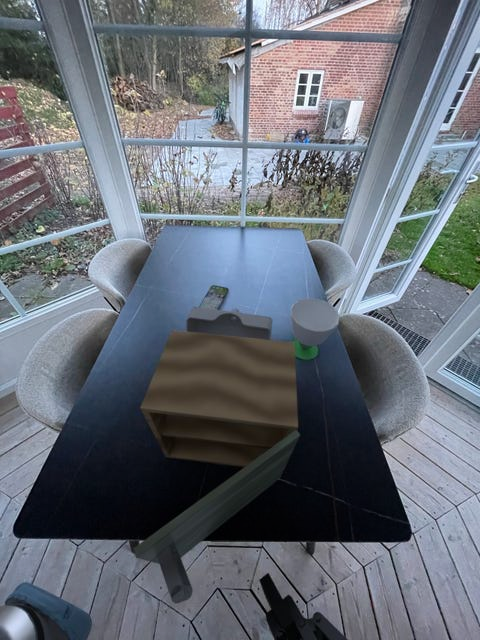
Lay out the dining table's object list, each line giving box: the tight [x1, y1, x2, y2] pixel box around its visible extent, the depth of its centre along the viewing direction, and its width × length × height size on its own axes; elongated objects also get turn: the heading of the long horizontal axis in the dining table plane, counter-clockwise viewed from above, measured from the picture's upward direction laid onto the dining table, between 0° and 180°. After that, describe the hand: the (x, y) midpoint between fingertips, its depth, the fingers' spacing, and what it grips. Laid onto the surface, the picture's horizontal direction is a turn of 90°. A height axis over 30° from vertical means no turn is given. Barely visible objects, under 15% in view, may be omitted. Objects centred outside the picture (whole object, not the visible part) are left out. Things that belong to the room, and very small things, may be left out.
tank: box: [185, 306, 273, 340], centre depth 83 cm, size 25×16×12 cm, turn 80°
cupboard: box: [140, 329, 299, 468], centre depth 59 cm, size 18×26×24 cm
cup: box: [290, 297, 341, 361], centre depth 80 cm, size 14×14×16 cm
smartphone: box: [198, 284, 229, 310], centre depth 101 cm, size 7×1×15 cm
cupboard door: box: [133, 429, 301, 605], centre depth 44 cm, size 7×26×24 cm, turn 124°
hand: (266, 585), depth 36 cm, fingers closed
